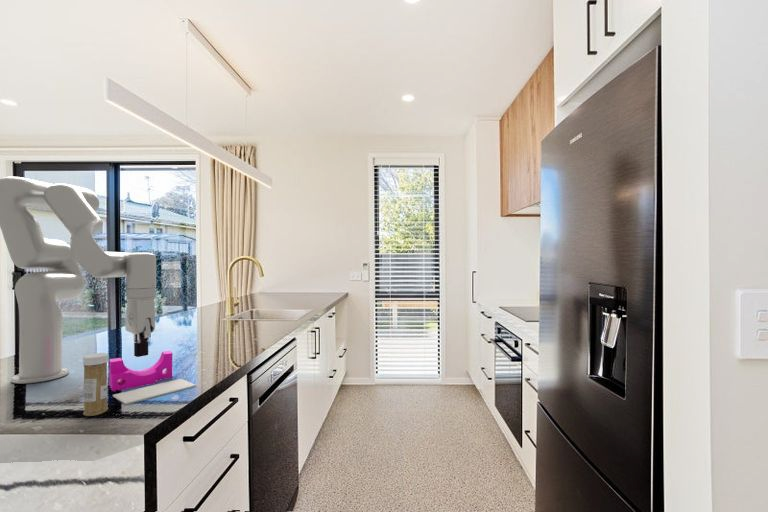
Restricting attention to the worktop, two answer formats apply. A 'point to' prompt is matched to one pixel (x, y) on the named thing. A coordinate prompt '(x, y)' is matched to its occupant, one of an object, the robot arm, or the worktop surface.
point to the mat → (153, 391)
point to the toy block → (138, 373)
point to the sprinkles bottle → (95, 384)
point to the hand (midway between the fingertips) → (141, 355)
